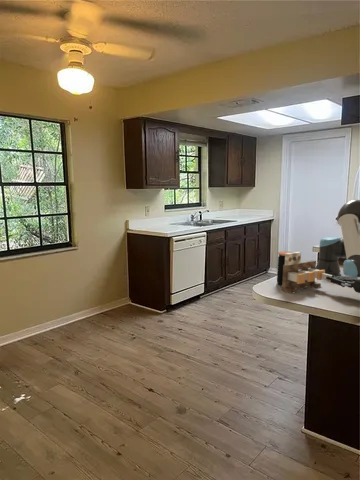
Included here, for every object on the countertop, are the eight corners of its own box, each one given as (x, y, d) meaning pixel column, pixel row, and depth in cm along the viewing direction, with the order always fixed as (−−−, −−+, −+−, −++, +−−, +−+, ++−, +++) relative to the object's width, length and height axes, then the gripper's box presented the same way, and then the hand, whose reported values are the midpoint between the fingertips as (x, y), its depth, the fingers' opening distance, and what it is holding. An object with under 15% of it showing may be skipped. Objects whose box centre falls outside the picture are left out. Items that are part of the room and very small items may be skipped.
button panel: (311, 284, 201) (313, 249, 198) (320, 286, 196) (323, 251, 193) (281, 290, 189) (283, 253, 186) (290, 293, 184) (293, 255, 181)
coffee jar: (293, 287, 194) (295, 255, 191) (274, 284, 199) (276, 253, 197) (298, 283, 203) (300, 252, 200) (280, 280, 208) (281, 250, 206)
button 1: (292, 279, 190) (292, 270, 190) (304, 282, 183) (305, 273, 183) (286, 280, 188) (286, 271, 187) (298, 284, 181) (299, 274, 180)
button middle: (302, 277, 194) (302, 268, 194) (314, 280, 188) (315, 271, 187) (296, 278, 192) (296, 269, 191) (308, 281, 185) (309, 272, 184)
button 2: (311, 275, 199) (312, 267, 198) (324, 278, 192) (325, 270, 191) (306, 276, 196) (306, 268, 195) (318, 279, 189) (319, 271, 188)
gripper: (356, 296, 167) (314, 284, 186) (372, 291, 174) (329, 280, 193) (357, 280, 166) (315, 270, 185) (373, 277, 172) (330, 267, 192)
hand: (322, 275), depth 189 cm, fingers closed
